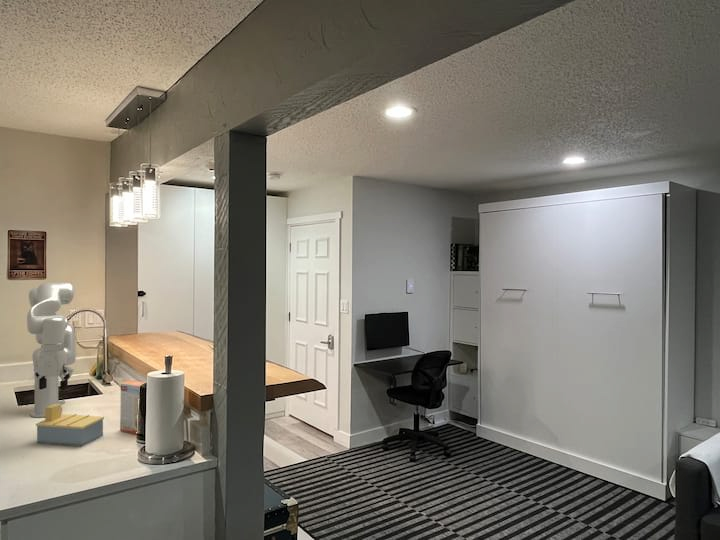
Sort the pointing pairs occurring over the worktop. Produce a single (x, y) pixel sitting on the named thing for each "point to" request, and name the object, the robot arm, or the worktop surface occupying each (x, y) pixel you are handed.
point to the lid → (66, 419)
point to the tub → (69, 434)
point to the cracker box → (129, 406)
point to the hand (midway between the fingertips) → (53, 389)
